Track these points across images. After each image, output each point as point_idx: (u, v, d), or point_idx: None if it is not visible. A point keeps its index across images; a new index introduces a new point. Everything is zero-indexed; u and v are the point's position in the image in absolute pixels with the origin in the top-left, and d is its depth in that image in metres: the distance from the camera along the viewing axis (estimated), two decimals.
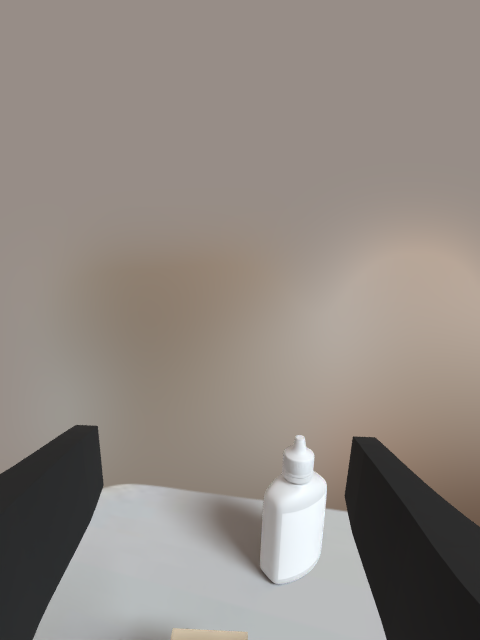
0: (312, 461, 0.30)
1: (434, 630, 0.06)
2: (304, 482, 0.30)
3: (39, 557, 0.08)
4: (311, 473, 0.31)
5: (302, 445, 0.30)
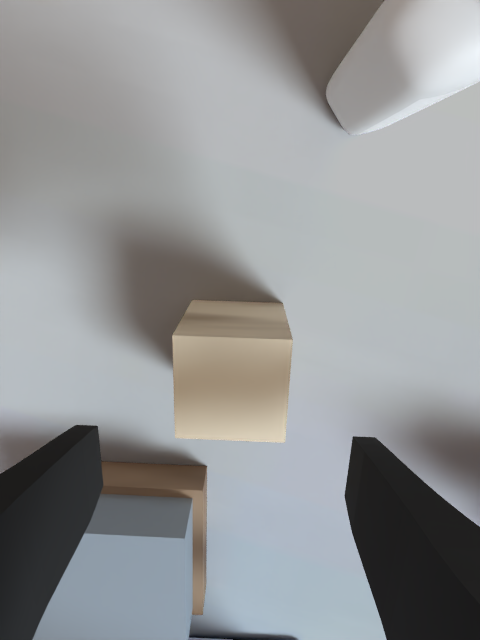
0: None
1: (434, 630, 0.06)
2: None
3: (39, 557, 0.08)
4: None
5: None
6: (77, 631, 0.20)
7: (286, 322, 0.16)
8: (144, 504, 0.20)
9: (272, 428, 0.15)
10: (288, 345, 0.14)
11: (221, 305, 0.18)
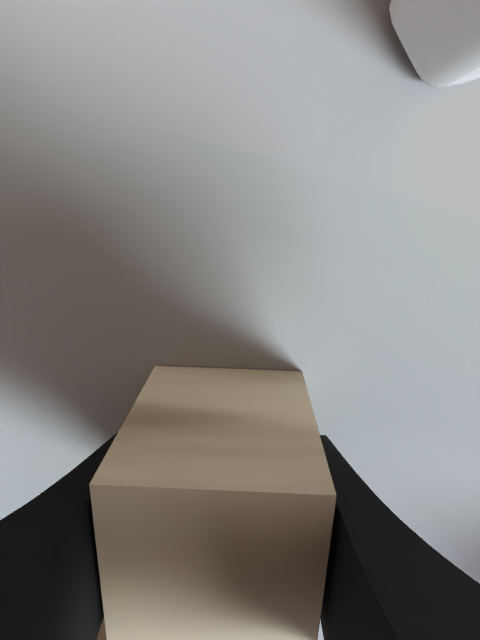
0: None
1: (351, 626, 0.06)
2: None
3: None
4: None
5: None
6: None
7: (315, 430, 0.09)
8: None
9: None
10: (327, 504, 0.07)
11: (200, 380, 0.11)
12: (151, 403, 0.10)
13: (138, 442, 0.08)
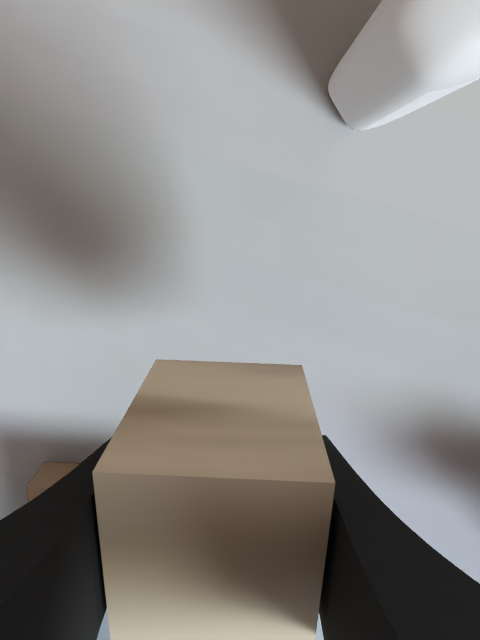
0: None
1: (351, 626, 0.06)
2: None
3: (101, 560, 0.08)
4: None
5: None
6: None
7: (314, 421, 0.09)
8: None
9: (291, 628, 0.08)
10: (326, 492, 0.07)
11: (201, 373, 0.11)
12: (153, 395, 0.10)
13: (140, 432, 0.08)
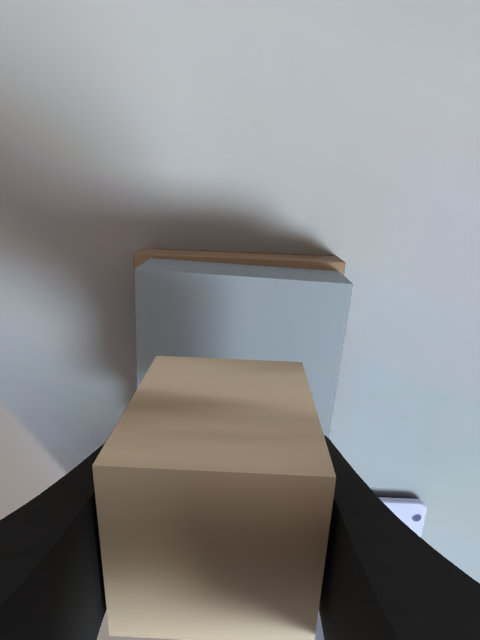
0: None
1: (351, 626, 0.06)
2: None
3: (101, 560, 0.08)
4: None
5: None
6: None
7: (315, 416, 0.09)
8: (283, 269, 0.16)
9: (291, 624, 0.08)
10: (327, 486, 0.07)
11: (201, 370, 0.11)
12: (153, 391, 0.10)
13: (140, 427, 0.08)
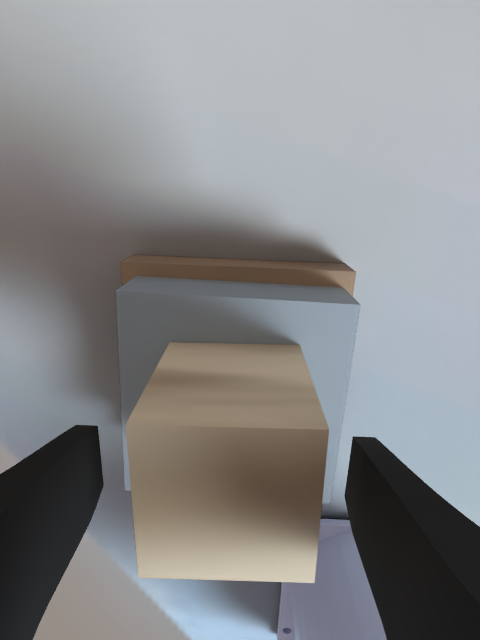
0: None
1: (434, 630, 0.06)
2: None
3: (39, 557, 0.08)
4: None
5: None
6: None
7: (312, 386, 0.10)
8: (282, 287, 0.15)
9: (294, 562, 0.10)
10: (321, 438, 0.08)
11: (211, 352, 0.12)
12: (169, 369, 0.11)
13: (162, 396, 0.10)
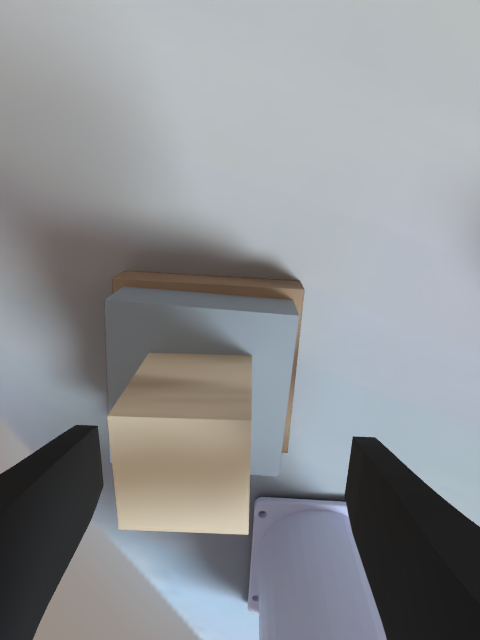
0: None
1: (434, 630, 0.06)
2: None
3: (39, 557, 0.08)
4: None
5: None
6: None
7: (250, 389, 0.14)
8: (242, 298, 0.18)
9: (232, 519, 0.13)
10: (246, 426, 0.12)
11: (180, 361, 0.16)
12: (145, 375, 0.15)
13: (136, 396, 0.13)
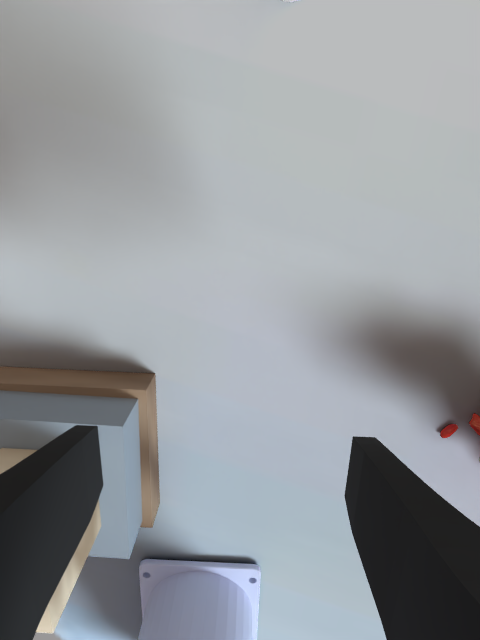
0: None
1: (434, 630, 0.06)
2: None
3: (39, 557, 0.08)
4: None
5: None
6: None
7: None
8: (88, 401, 0.20)
9: None
10: None
11: None
12: None
13: None
